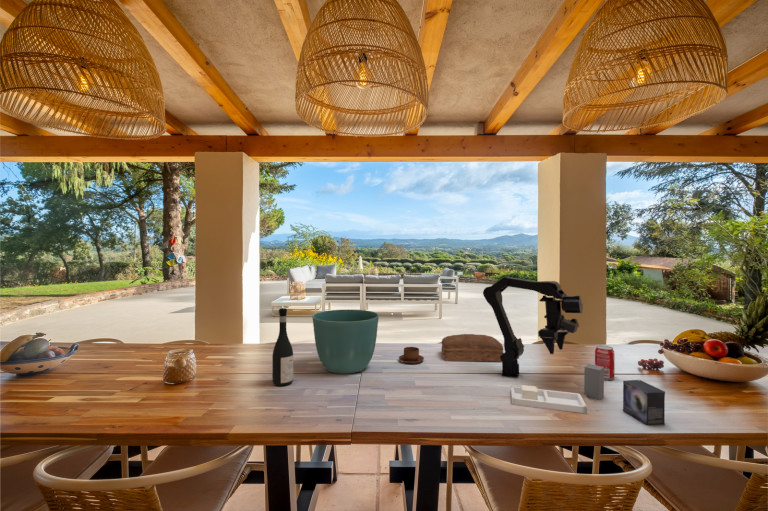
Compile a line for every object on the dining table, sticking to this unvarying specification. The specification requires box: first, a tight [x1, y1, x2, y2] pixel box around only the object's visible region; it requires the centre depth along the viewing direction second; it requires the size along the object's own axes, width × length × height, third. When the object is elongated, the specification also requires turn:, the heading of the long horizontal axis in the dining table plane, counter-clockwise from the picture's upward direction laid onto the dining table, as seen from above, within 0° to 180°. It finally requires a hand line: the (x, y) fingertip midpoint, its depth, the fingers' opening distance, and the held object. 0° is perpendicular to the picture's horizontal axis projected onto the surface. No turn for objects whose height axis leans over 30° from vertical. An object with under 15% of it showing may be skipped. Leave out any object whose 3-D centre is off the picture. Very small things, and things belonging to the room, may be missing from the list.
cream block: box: [521, 384, 538, 400], centre depth 130 cm, size 5×5×4 cm
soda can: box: [594, 345, 616, 381], centre depth 156 cm, size 7×7×13 cm
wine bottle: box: [271, 307, 294, 387], centre depth 148 cm, size 8×8×30 cm
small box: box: [622, 379, 666, 426], centre depth 119 cm, size 11×6×10 cm, turn 5°
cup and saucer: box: [398, 346, 425, 364], centre depth 178 cm, size 12×12×6 cm
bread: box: [441, 333, 504, 363], centre depth 186 cm, size 17×29×11 cm, turn 87°
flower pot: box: [312, 309, 380, 375], centre depth 168 cm, size 30×30×24 cm
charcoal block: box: [583, 363, 605, 402], centre depth 136 cm, size 5×5×11 cm
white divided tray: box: [510, 385, 588, 414], centre depth 129 cm, size 23×12×3 cm, turn 72°
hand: (556, 351), depth 148 cm, fingers open, 9 cm apart
